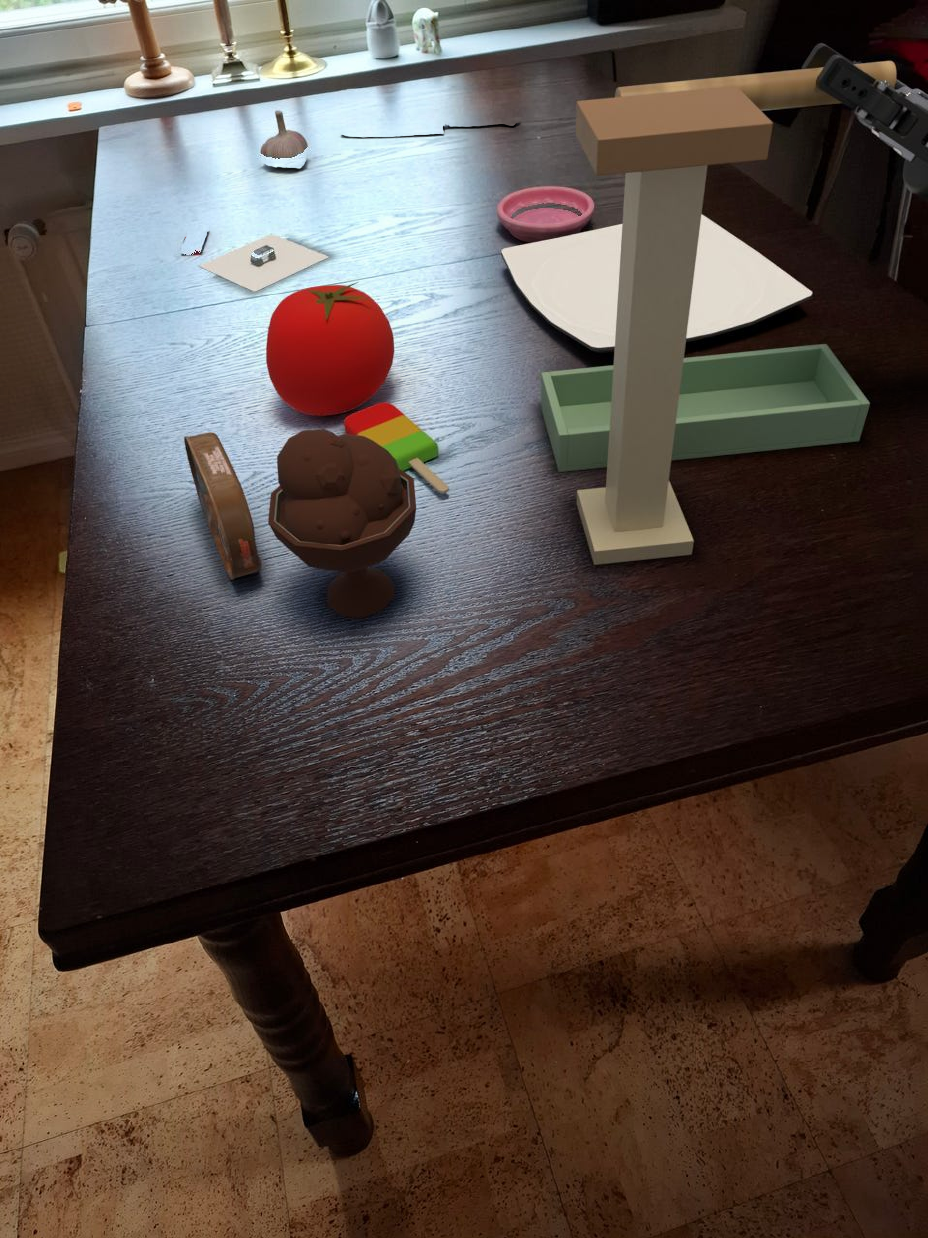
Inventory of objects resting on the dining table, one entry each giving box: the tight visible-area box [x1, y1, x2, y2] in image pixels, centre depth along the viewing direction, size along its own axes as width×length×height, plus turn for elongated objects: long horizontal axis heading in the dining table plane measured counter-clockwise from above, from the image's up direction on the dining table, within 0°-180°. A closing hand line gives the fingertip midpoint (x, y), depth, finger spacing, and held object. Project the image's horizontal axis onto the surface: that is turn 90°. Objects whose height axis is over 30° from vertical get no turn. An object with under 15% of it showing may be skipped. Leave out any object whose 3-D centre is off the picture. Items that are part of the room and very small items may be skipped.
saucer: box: [496, 185, 595, 243], centre depth 119 cm, size 12×12×3 cm
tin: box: [183, 432, 262, 580], centre depth 76 cm, size 15×3×8 cm, turn 24°
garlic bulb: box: [260, 109, 309, 159], centre depth 138 cm, size 8×7×8 cm
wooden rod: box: [614, 60, 897, 112], centre depth 67 cm, size 20×2×2 cm, turn 95°
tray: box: [540, 343, 871, 473], centre depth 85 cm, size 28×11×4 cm, turn 95°
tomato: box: [265, 281, 395, 417], centre depth 90 cm, size 12×14×11 cm
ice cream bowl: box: [267, 428, 417, 619], centre depth 68 cm, size 11×11×15 cm
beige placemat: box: [198, 233, 329, 293], centre depth 117 cm, size 12×12×2 cm
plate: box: [500, 213, 813, 354], centre depth 105 cm, size 29×29×3 cm
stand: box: [575, 86, 774, 566], centre depth 65 cm, size 10×8×32 cm
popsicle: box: [343, 401, 450, 494], centre depth 85 cm, size 6×15×2 cm, turn 33°
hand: (818, 63), depth 66 cm, fingers closed on wooden rod, 2 cm apart
